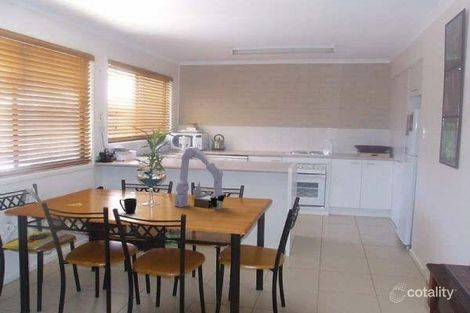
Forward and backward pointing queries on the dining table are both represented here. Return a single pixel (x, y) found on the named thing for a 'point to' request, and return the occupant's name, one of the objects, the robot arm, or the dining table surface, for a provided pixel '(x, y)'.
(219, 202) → the white block
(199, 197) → the trapdoor
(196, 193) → the crystal
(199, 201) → the frame
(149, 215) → the dining table surface
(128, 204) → the mug
